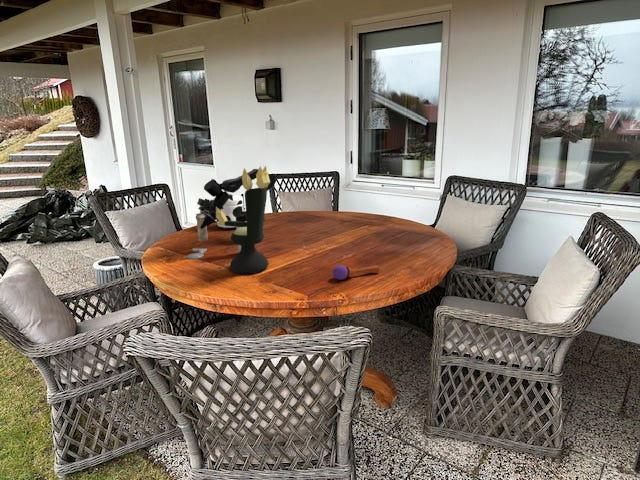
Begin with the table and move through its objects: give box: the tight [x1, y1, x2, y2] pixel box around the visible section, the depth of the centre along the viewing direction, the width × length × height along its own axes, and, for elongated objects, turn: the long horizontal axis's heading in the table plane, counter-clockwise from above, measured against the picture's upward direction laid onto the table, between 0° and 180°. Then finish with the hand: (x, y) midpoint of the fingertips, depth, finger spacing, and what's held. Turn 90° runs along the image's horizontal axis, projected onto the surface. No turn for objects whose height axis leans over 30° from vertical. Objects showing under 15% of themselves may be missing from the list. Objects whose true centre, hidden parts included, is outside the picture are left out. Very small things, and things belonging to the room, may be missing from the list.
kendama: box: [332, 264, 380, 281], centre depth 172 cm, size 6×6×20 cm
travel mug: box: [235, 213, 247, 254], centre depth 202 cm, size 6×7×20 cm
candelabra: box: [216, 165, 270, 275], centre depth 178 cm, size 19×22×45 cm
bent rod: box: [191, 248, 208, 254], centre depth 210 cm, size 7×5×1 cm
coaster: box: [186, 252, 205, 260], centre depth 203 cm, size 8×8×1 cm
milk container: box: [216, 194, 245, 230], centre depth 253 cm, size 17×17×18 cm
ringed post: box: [195, 212, 209, 242], centre depth 207 cm, size 5×5×13 cm
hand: (199, 227), depth 206 cm, fingers closed on ringed post, 4 cm apart
